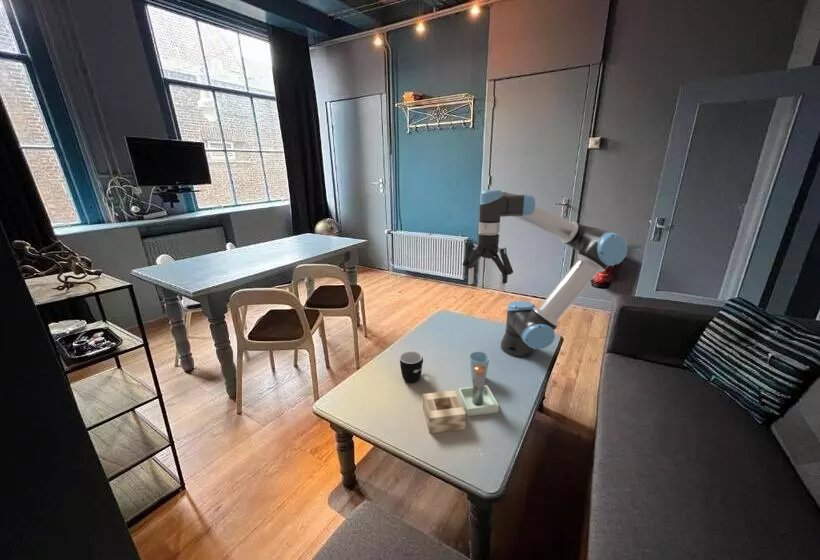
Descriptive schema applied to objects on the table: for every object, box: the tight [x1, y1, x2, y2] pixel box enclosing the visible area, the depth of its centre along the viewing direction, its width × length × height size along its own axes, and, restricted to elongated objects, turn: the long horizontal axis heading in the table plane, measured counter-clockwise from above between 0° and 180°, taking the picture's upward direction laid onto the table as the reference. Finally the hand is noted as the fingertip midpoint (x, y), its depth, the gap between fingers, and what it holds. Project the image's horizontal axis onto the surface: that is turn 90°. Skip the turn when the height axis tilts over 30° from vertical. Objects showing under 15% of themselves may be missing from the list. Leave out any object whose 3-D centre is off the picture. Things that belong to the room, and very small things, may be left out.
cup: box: [469, 351, 490, 381], centre depth 130 cm, size 8×8×10 cm
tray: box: [457, 384, 500, 417], centre depth 118 cm, size 11×11×3 cm
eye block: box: [422, 389, 467, 434], centre depth 111 cm, size 12×12×6 cm
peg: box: [472, 365, 486, 406], centre depth 116 cm, size 4×4×14 cm
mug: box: [399, 351, 424, 384], centre depth 132 cm, size 12×9×10 cm
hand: (485, 287), depth 127 cm, fingers open, 13 cm apart
